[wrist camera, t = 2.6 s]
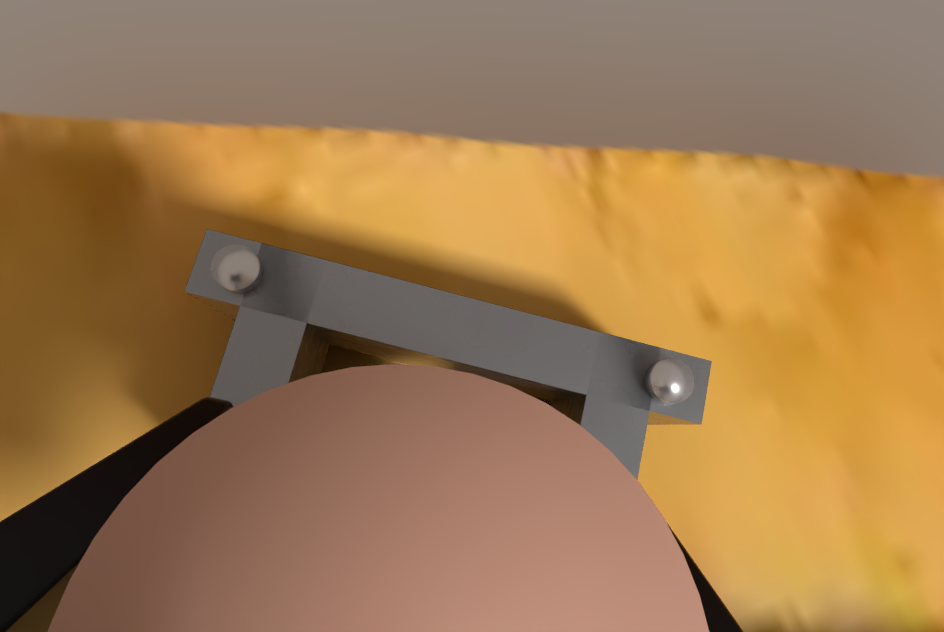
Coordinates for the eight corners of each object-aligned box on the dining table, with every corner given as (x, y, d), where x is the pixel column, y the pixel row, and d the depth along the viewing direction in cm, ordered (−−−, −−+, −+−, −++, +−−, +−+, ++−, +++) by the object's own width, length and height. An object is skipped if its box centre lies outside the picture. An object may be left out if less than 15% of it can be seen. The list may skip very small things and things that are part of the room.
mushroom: (473, 610, 15) (657, 1199, 4) (296, 569, 15) (-107, 1052, 3) (514, 431, 16) (760, 447, 5) (348, 389, 16) (168, 295, 4)
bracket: (613, 587, 16) (676, 638, 12) (178, 482, 15) (100, 500, 12) (652, 374, 17) (720, 359, 13) (250, 269, 17) (200, 223, 13)
